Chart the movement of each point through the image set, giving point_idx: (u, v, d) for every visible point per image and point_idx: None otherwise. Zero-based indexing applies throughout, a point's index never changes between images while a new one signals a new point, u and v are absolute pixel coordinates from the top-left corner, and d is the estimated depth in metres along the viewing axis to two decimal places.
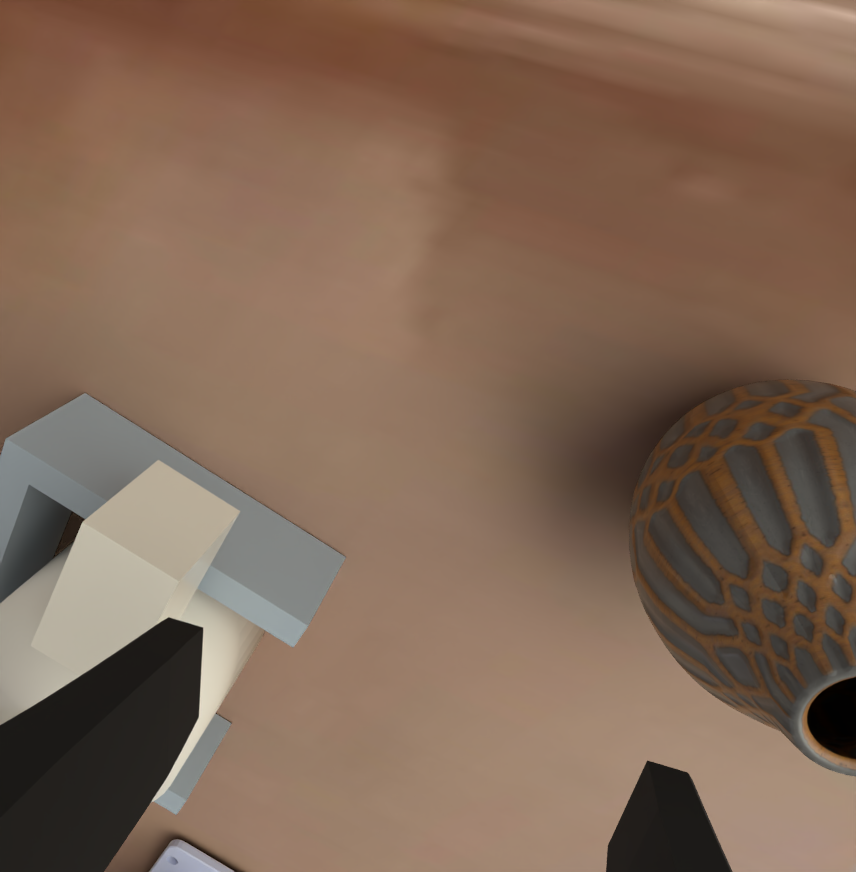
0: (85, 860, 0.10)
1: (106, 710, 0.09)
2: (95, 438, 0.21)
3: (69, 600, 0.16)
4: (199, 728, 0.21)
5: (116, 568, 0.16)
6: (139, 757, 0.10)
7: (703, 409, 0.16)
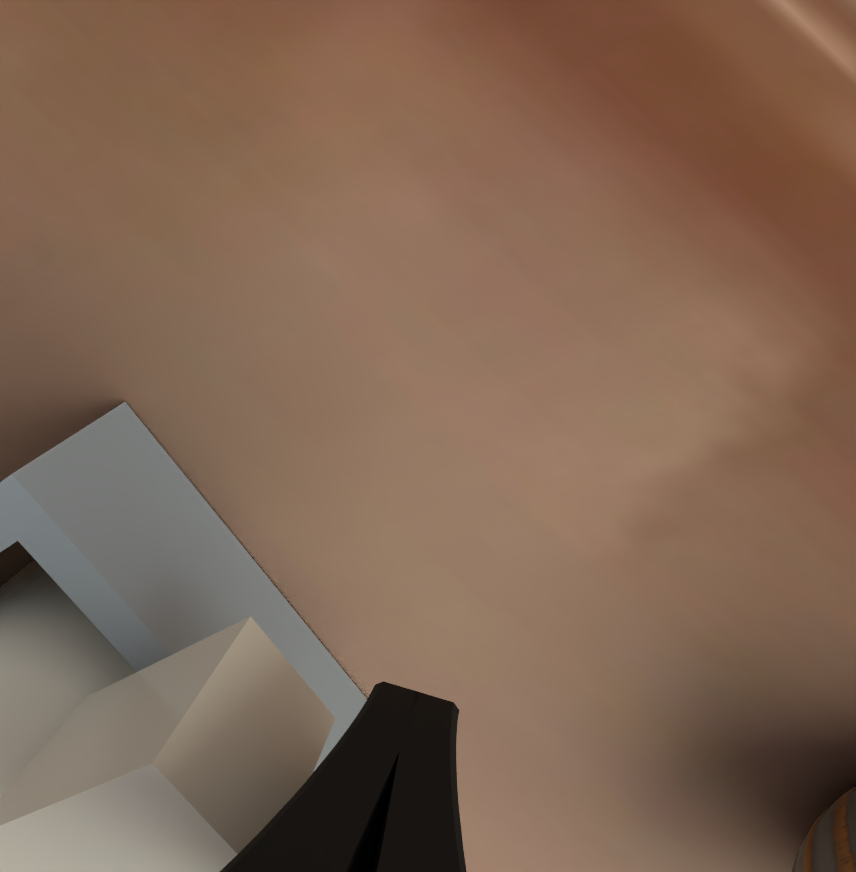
0: None
1: (372, 795, 0.09)
2: (128, 487, 0.15)
3: (64, 827, 0.10)
4: None
5: (170, 830, 0.10)
6: (376, 834, 0.10)
7: None
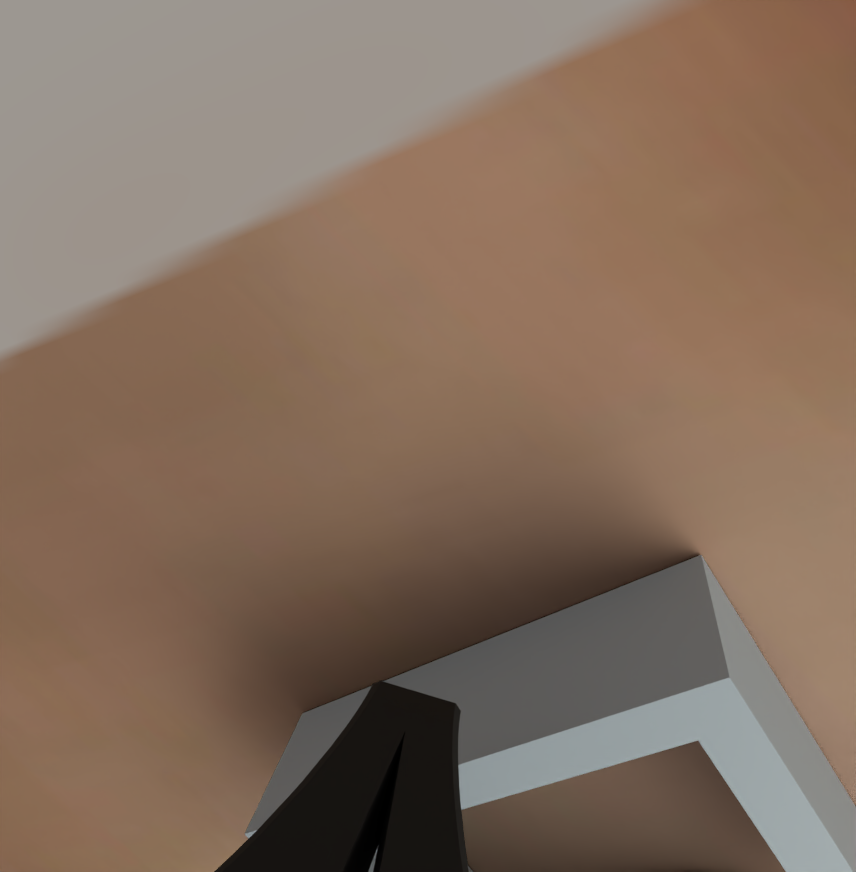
0: None
1: (369, 793, 0.09)
2: (748, 661, 0.13)
3: None
4: None
5: None
6: (373, 833, 0.10)
7: None
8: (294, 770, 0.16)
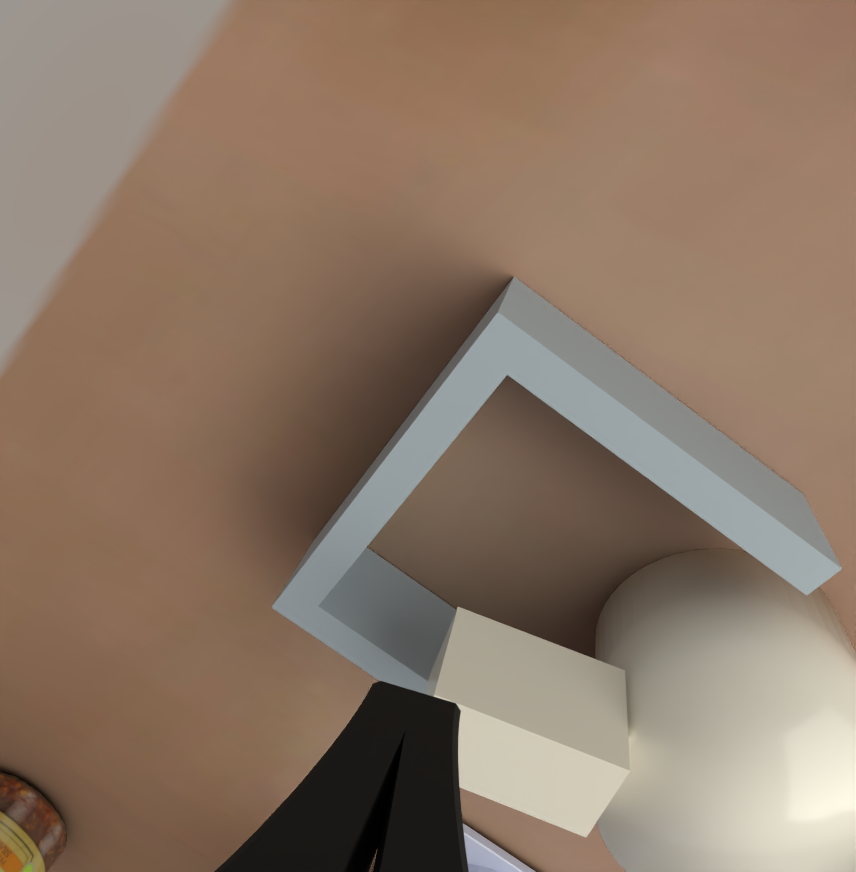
0: None
1: (369, 794, 0.09)
2: (556, 327, 0.17)
3: (505, 791, 0.16)
4: (769, 669, 0.16)
5: None
6: (374, 833, 0.10)
7: None
8: (301, 562, 0.21)
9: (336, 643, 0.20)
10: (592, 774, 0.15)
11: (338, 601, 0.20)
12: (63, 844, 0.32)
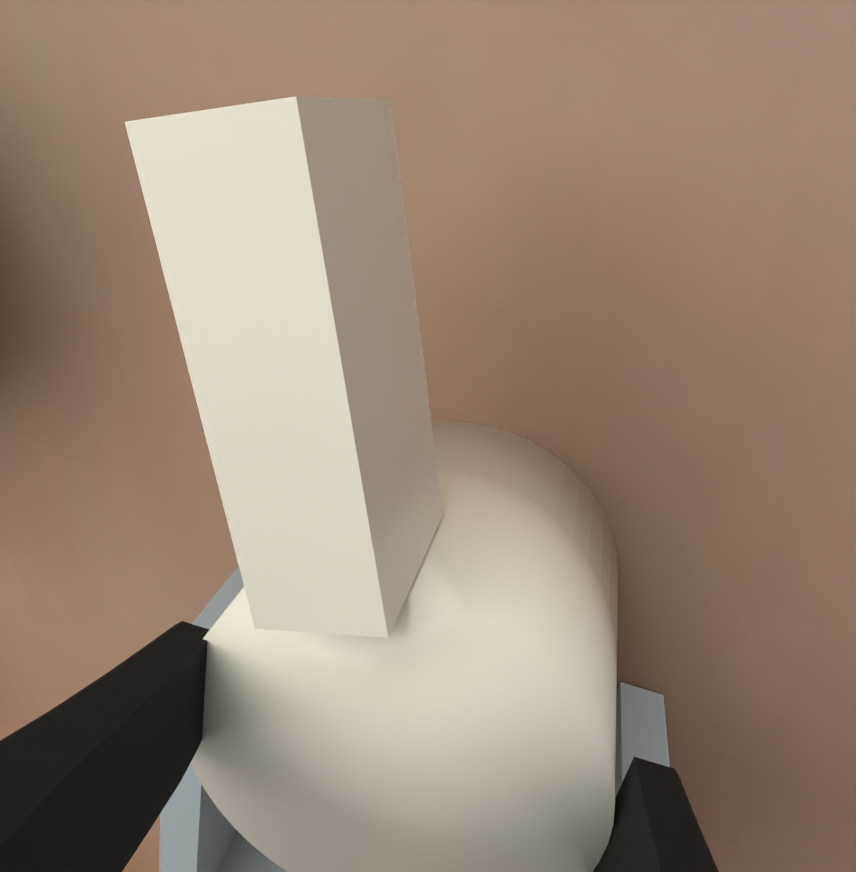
0: (100, 865, 0.10)
1: (123, 715, 0.09)
2: None
3: None
4: None
5: None
6: (154, 762, 0.10)
7: None
8: None
9: None
10: None
11: None
12: None
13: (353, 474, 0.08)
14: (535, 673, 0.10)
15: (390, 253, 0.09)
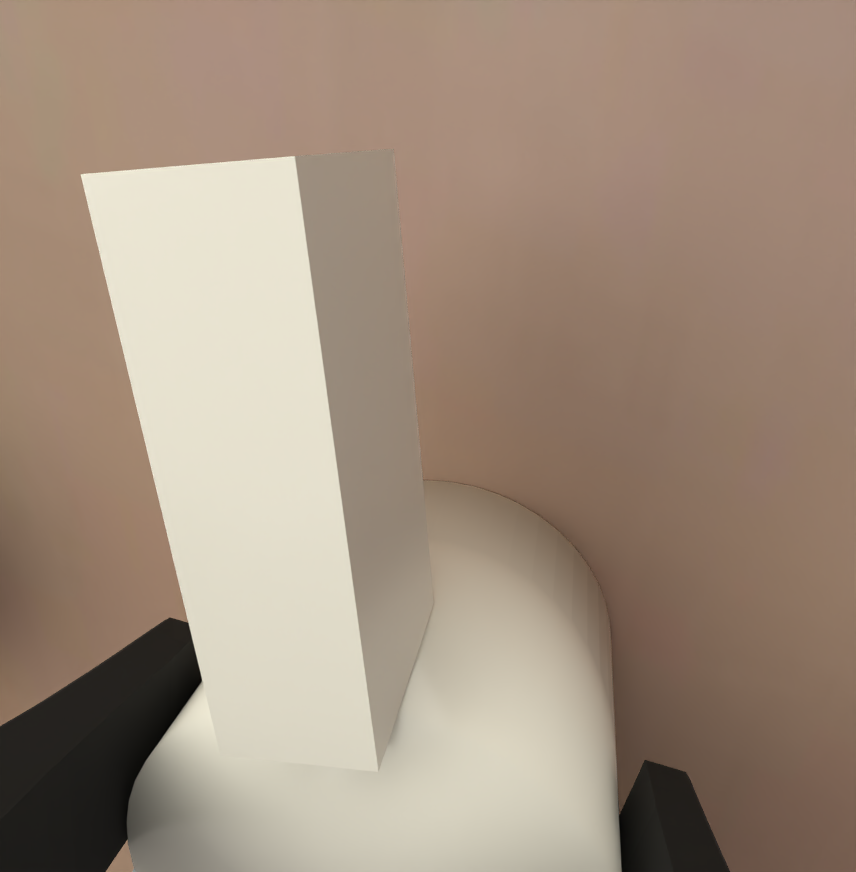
0: (86, 861, 0.10)
1: (108, 711, 0.09)
2: None
3: None
4: None
5: None
6: (140, 758, 0.10)
7: None
8: None
9: None
10: None
11: None
12: None
13: (346, 591, 0.07)
14: (542, 800, 0.09)
15: (389, 322, 0.08)
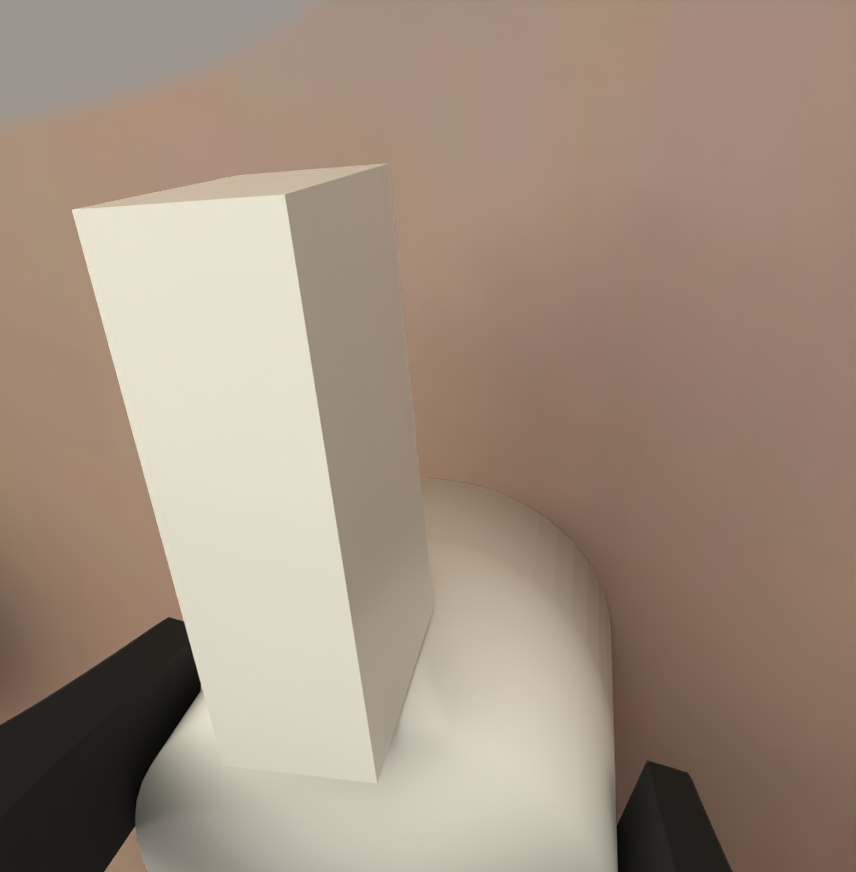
0: (85, 860, 0.10)
1: (106, 710, 0.09)
2: None
3: None
4: None
5: None
6: (139, 757, 0.10)
7: None
8: None
9: None
10: None
11: None
12: None
13: (343, 614, 0.07)
14: (538, 806, 0.09)
15: (385, 341, 0.08)
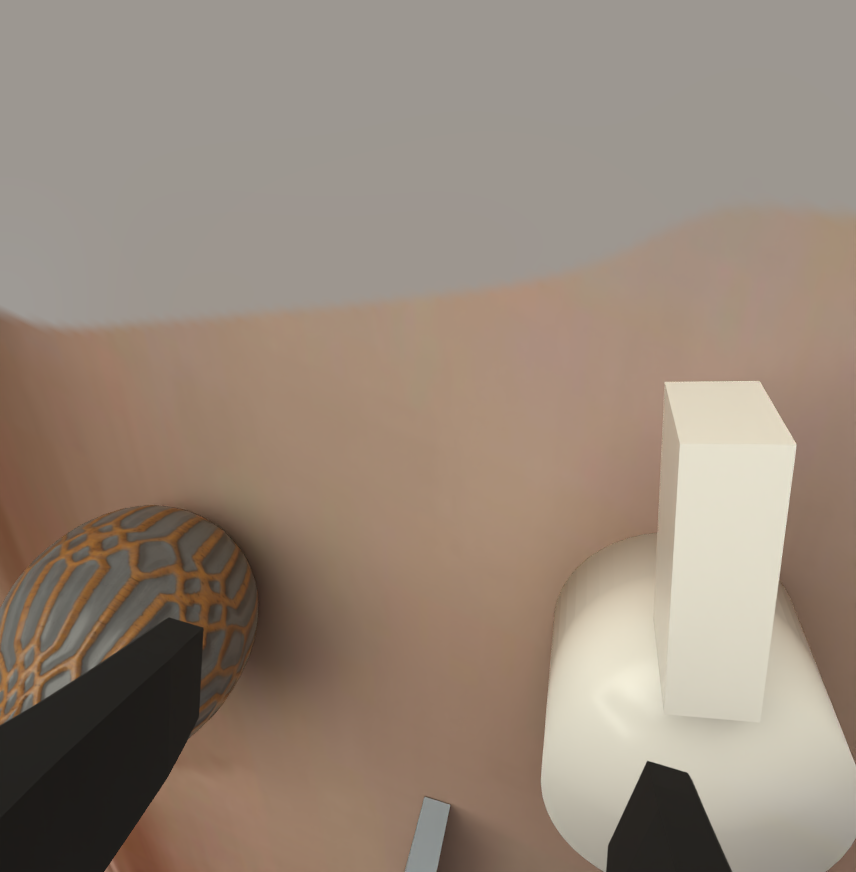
0: (85, 860, 0.10)
1: (106, 710, 0.09)
2: None
3: None
4: None
5: None
6: (139, 757, 0.10)
7: None
8: None
9: None
10: None
11: None
12: None
13: (767, 631, 0.13)
14: (826, 739, 0.15)
15: None
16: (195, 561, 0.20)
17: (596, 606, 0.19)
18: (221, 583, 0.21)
